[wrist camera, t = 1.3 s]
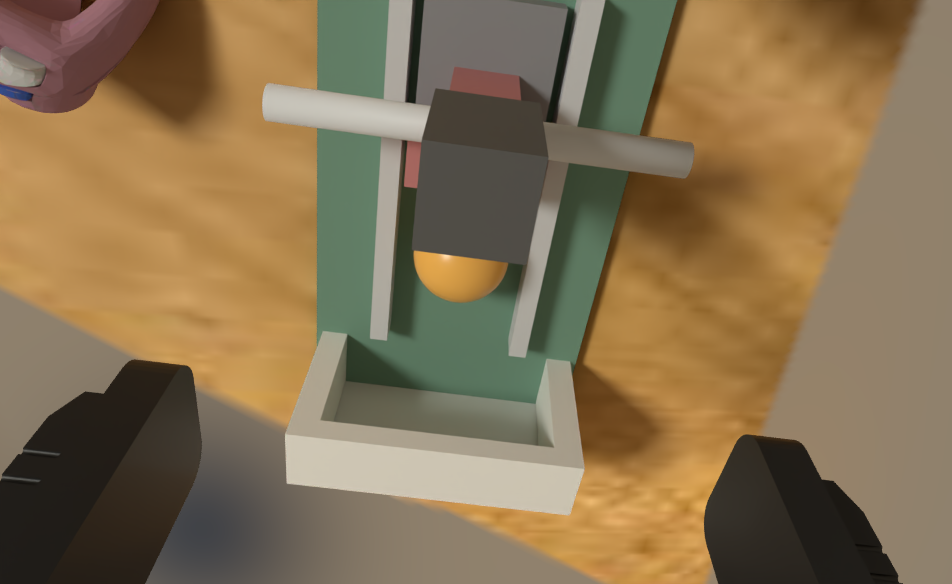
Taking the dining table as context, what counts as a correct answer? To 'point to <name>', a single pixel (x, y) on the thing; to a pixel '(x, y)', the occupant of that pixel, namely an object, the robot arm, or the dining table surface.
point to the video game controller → (64, 48)
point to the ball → (458, 276)
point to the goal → (435, 439)
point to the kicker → (480, 126)
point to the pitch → (393, 206)
